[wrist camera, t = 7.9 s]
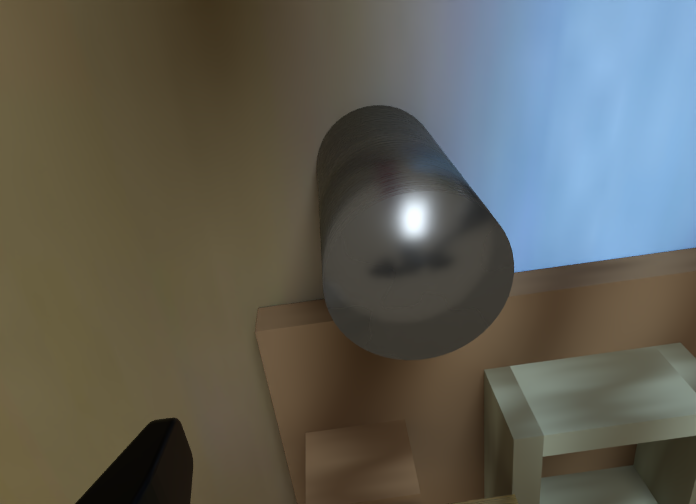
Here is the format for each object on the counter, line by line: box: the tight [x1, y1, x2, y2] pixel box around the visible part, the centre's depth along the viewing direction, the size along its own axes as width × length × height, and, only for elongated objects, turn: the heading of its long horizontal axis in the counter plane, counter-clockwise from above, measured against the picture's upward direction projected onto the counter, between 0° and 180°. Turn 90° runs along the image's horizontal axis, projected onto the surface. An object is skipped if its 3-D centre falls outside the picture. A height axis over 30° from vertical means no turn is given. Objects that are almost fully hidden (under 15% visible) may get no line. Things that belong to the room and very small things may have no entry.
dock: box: [255, 248, 696, 504], centre depth 22 cm, size 20×14×5 cm
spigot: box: [317, 105, 514, 360], centre depth 15 cm, size 4×4×8 cm
